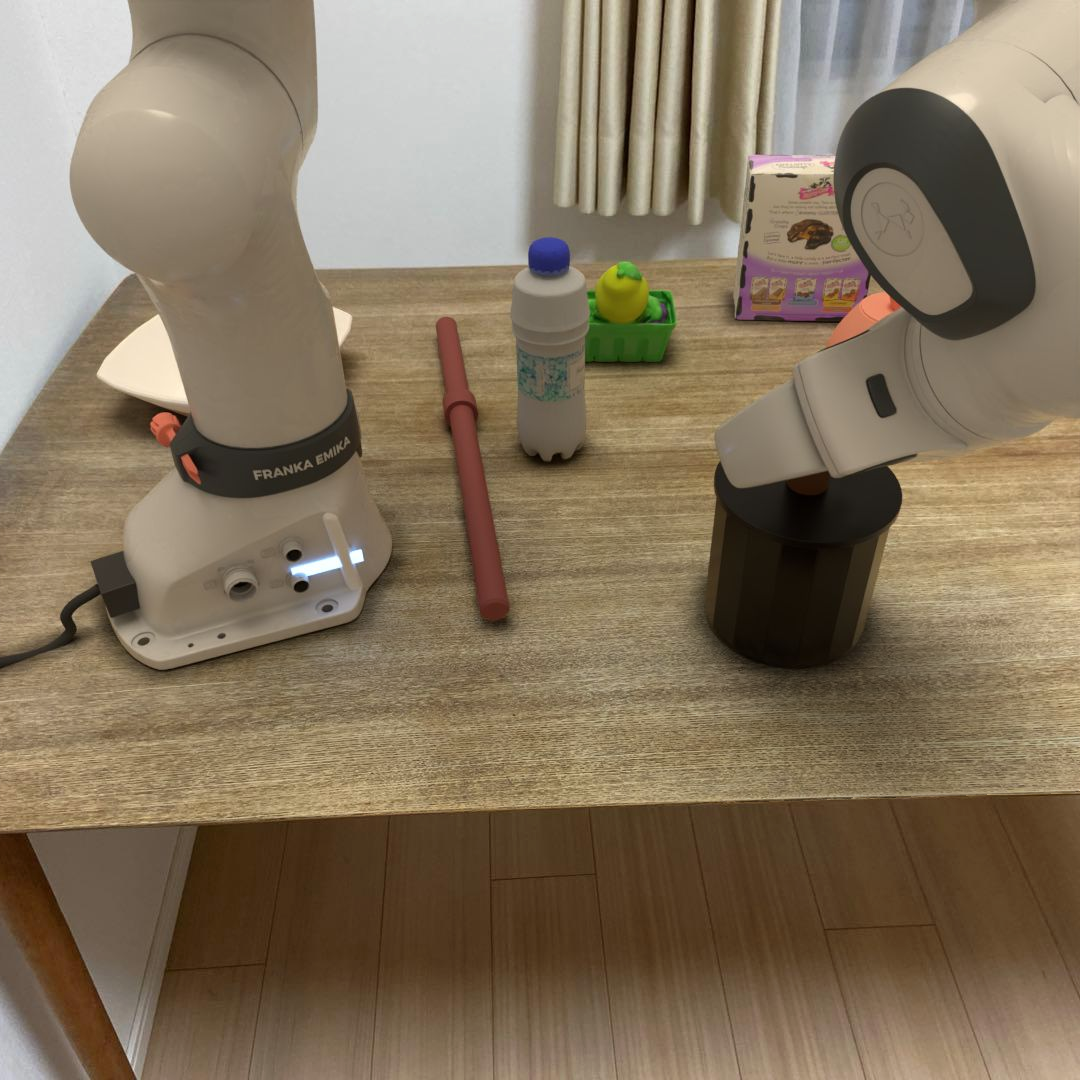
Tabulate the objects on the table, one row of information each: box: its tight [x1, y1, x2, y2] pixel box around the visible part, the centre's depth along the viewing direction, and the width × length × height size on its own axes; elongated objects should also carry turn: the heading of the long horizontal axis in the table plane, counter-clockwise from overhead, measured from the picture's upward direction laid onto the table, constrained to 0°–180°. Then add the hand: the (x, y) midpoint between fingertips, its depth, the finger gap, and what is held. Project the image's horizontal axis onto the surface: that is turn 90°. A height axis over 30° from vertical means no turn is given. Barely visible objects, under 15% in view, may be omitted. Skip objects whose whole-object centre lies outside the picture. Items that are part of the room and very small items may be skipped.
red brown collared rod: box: [435, 316, 511, 621], centre depth 92 cm, size 45×3×3 cm, turn 9°
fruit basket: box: [585, 261, 678, 363], centre depth 103 cm, size 11×9×11 cm
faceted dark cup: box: [703, 496, 891, 670], centre depth 73 cm, size 12×12×12 cm
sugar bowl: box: [825, 291, 901, 348], centre depth 97 cm, size 12×14×10 cm
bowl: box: [96, 306, 353, 417], centre depth 101 cm, size 22×22×5 cm
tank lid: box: [713, 461, 903, 549], centre depth 67 cm, size 12×12×9 cm
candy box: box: [732, 154, 872, 322], centre depth 108 cm, size 14×6×16 cm, turn 84°
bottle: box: [509, 236, 590, 462], centre depth 87 cm, size 7×7×20 cm
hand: (807, 436), depth 67 cm, fingers open, 5 cm apart
